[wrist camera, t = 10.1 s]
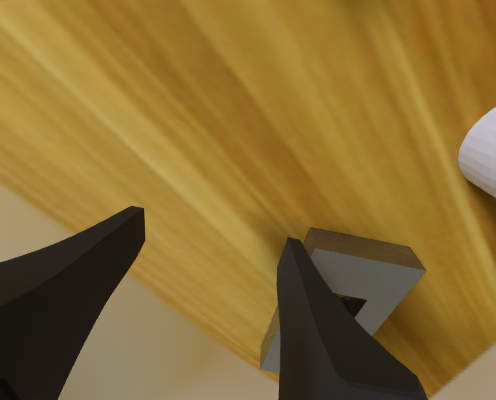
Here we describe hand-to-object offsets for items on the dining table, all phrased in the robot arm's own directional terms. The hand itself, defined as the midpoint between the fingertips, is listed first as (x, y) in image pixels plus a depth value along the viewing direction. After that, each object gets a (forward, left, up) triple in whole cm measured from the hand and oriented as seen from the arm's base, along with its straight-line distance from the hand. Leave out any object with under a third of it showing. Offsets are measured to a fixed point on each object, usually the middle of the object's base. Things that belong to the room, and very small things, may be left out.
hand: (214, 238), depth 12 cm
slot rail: (-13, +16, -10) cm, 23 cm away
